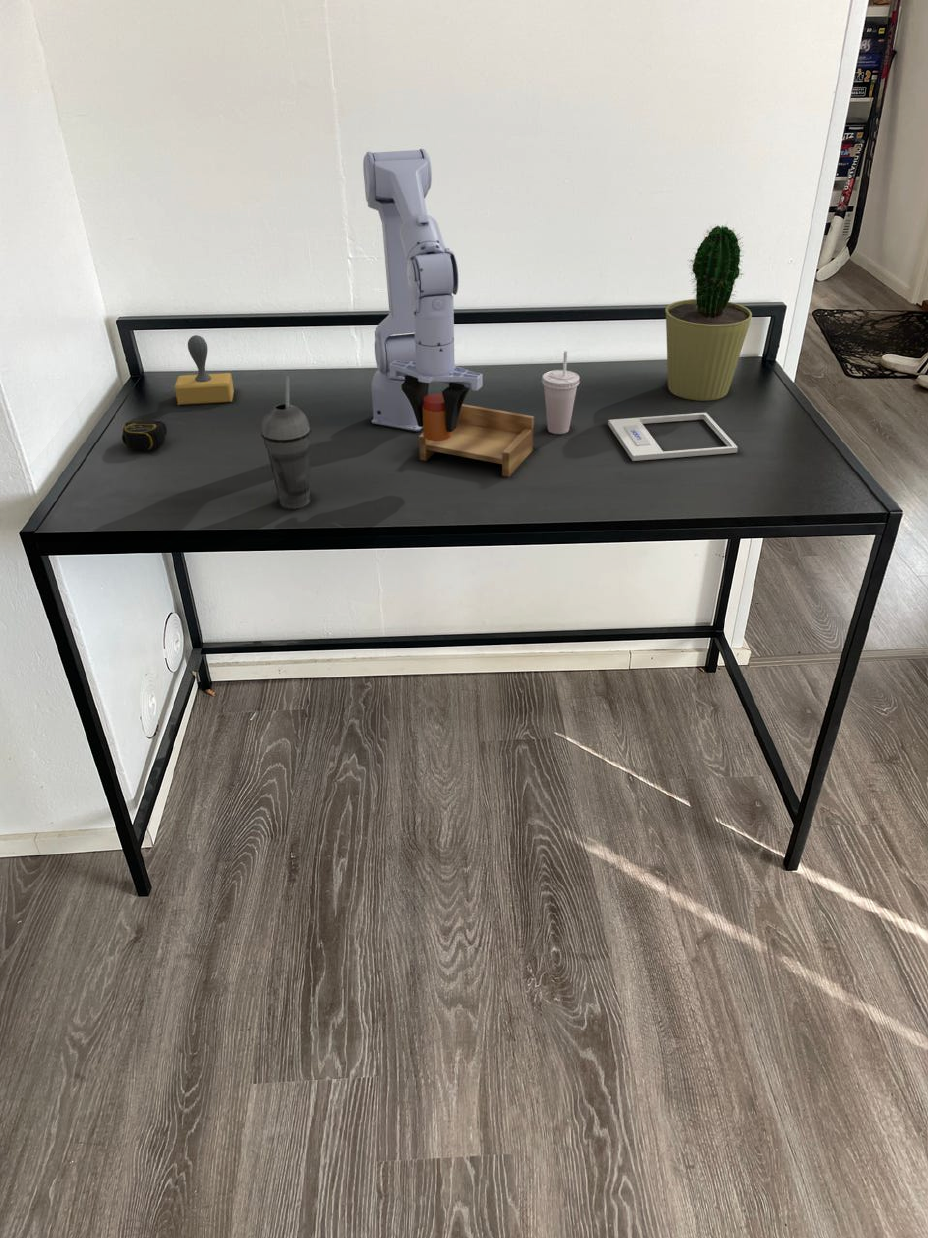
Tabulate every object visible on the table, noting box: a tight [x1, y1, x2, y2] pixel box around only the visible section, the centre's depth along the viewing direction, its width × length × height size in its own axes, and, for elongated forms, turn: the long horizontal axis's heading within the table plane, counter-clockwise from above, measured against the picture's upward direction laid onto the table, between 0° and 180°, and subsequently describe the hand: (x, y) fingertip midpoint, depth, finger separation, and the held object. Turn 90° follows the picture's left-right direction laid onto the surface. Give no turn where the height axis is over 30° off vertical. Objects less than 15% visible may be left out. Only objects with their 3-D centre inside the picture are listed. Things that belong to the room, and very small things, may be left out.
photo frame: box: [607, 412, 739, 462], centre depth 162 cm, size 15×1×18 cm
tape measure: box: [121, 420, 168, 451], centre depth 161 cm, size 7×7×4 cm
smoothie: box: [541, 350, 580, 435], centre depth 162 cm, size 6×6×14 cm
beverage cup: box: [260, 375, 312, 510], centre depth 140 cm, size 7×7×20 cm
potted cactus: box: [664, 221, 753, 401], centre depth 172 cm, size 15×15×30 cm
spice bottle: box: [422, 393, 452, 441], centre depth 145 cm, size 4×4×6 cm
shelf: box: [418, 403, 535, 478], centre depth 156 cm, size 16×11×6 cm, turn 65°
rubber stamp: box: [174, 334, 235, 406], centre depth 176 cm, size 10×6×12 cm, turn 97°
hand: (437, 426), depth 146 cm, fingers closed on spice bottle, 4 cm apart
